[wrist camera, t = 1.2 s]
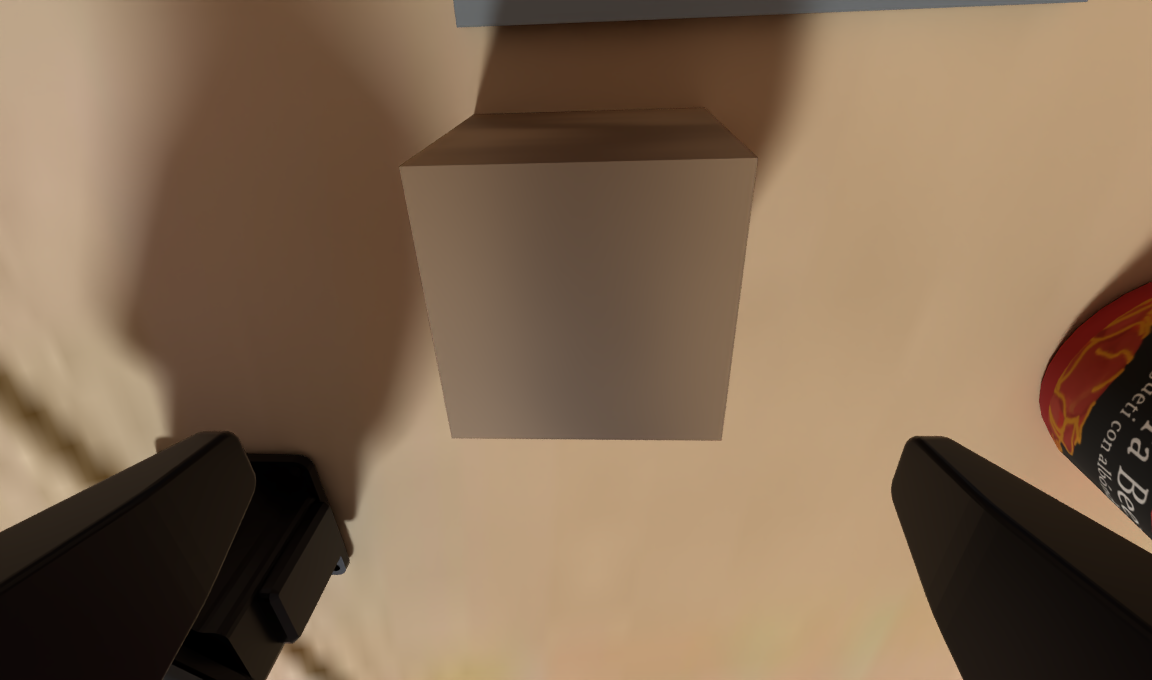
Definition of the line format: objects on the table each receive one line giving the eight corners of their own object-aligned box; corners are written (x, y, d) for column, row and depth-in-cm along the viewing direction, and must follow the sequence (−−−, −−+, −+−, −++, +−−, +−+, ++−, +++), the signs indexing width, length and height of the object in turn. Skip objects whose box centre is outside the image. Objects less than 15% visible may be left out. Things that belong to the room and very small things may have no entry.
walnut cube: (498, 314, 17) (451, 438, 12) (474, 114, 14) (399, 167, 9) (687, 313, 17) (721, 440, 12) (703, 106, 14) (757, 157, 9)
